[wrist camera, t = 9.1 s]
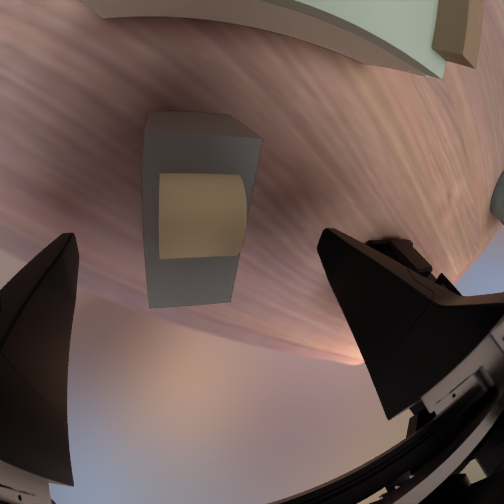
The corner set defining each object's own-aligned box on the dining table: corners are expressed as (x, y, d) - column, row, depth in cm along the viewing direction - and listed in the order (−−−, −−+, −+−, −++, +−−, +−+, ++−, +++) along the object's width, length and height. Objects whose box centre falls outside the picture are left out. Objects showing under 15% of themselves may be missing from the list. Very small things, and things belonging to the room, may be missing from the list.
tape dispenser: (211, 243, 17) (239, 327, 12) (147, 245, 16) (151, 335, 11) (229, 114, 13) (281, 153, 8) (150, 110, 11) (140, 146, 6)
